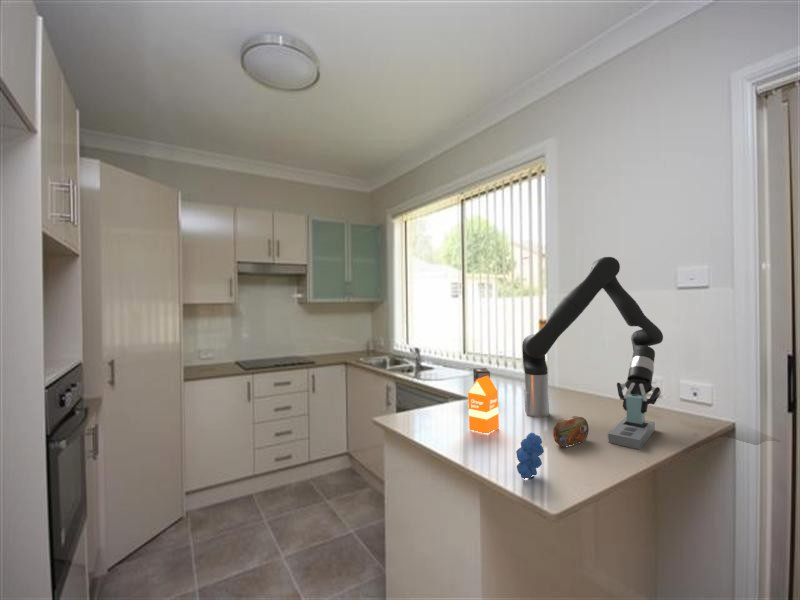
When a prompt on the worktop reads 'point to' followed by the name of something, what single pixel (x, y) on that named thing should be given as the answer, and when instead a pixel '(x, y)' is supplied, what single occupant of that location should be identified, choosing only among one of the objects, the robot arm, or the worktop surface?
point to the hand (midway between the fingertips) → (634, 410)
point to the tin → (570, 431)
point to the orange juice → (483, 406)
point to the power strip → (631, 433)
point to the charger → (634, 408)
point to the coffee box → (480, 373)
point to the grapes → (529, 455)
